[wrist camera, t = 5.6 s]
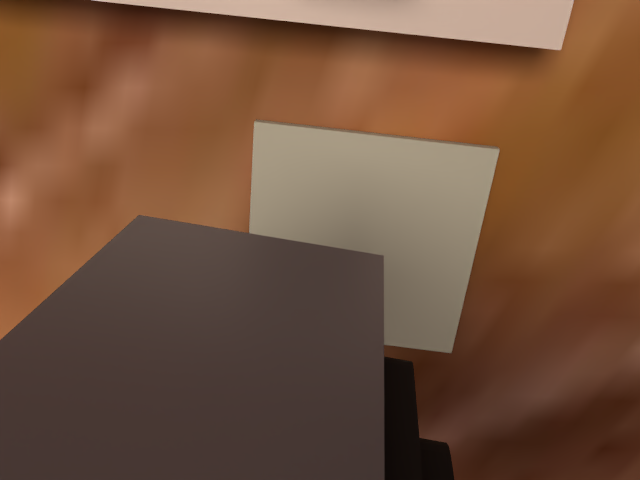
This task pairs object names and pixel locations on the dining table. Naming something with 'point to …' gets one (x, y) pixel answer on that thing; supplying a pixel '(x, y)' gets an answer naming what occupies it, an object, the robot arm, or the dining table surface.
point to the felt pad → (380, 213)
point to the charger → (200, 363)
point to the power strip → (407, 16)
